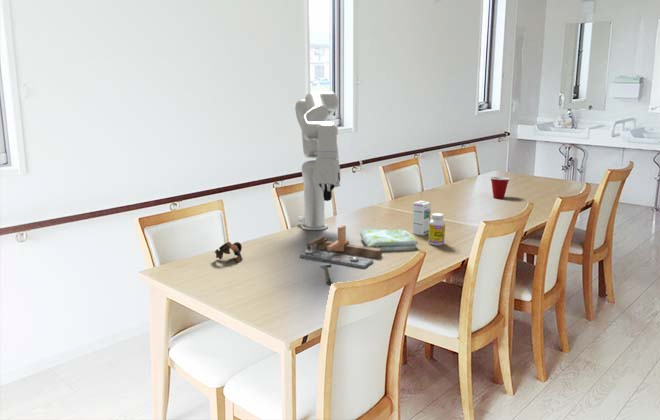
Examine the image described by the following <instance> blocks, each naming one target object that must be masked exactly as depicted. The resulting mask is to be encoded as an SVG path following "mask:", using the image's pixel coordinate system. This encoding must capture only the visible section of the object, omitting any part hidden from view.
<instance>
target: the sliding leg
mask: <svg viewBox="0 0 660 420" xmlns="http://www.w3.org/2000/svg"><path fill="white" fill-rule="evenodd" d="M346 228H347V226H346V225H343V224H342V225H340V226H339V227H337V240H335V241H333V242H334V243H332V244H330V245H328V246H327V250H326V252H327V253H332V251H331V250H333V249H334V250H336V251H344V245H345V244H350V240H348V239H346V236H347V235H346V234H347V231H346V230H347V229H346ZM336 251H335V252H336Z"/></svg>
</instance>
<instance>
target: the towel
mask: <svg viewBox="0 0 660 420" xmlns="http://www.w3.org/2000/svg"><path fill="white" fill-rule="evenodd" d="M359 236H360V237H361V240H362V241H363V243H364V244H365V245H366V246H365V247H372V248H379V249H382V252H384V251H385V252H390V251H391V252H392V251H411V250H416V249H417V245H418V244H419V243H418V241H417V238H415V237H414V236H413V235H412V234H411V233H410V232H409V231H407V230H405V229H402V228H401V229H379V228H368V229H367V228H366V229H363V230H361V232H360V233H359Z"/></svg>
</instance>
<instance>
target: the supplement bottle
mask: <svg viewBox="0 0 660 420" xmlns="http://www.w3.org/2000/svg"><path fill="white" fill-rule="evenodd" d="M431 218H432V219H430V222H429V233H428V244H430V245H432V246H443V245H444V244H445V236H446V234H445V233H446V221H445V220H444V214H443V213H440V212H436V213H435V212H434V213H432V214H431Z"/></svg>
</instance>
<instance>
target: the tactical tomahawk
mask: <svg viewBox="0 0 660 420" xmlns="http://www.w3.org/2000/svg"><path fill="white" fill-rule="evenodd" d="M319 268H320V269H323V270H324V273H325V281H326V284H327V285H331V284H333V283H332V280H331V276H330V272H329V268H332V265H331V264H328V265H327V264H326V265H320V266H319Z"/></svg>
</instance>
